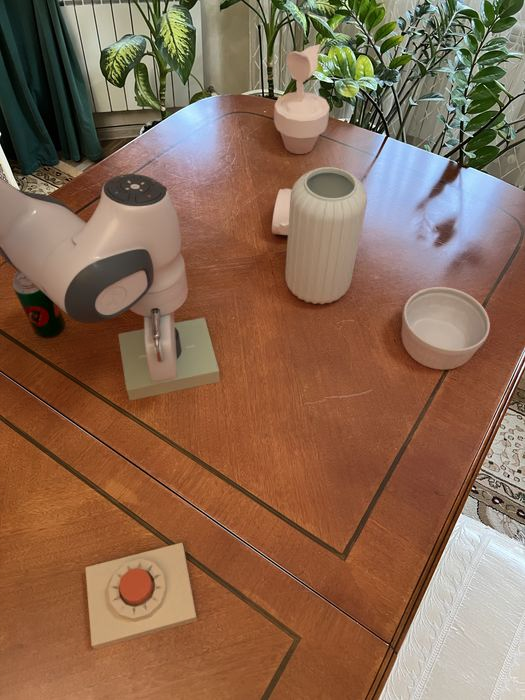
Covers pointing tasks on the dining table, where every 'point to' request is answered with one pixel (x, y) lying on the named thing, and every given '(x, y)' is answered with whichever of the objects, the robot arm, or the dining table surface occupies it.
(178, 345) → the knob
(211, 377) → the panel
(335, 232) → the vase
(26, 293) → the soda can
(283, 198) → the soap bar
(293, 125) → the potted plant
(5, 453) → the dining table surface
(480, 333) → the ramekin
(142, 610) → the button box
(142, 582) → the button
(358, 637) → the dining table surface
